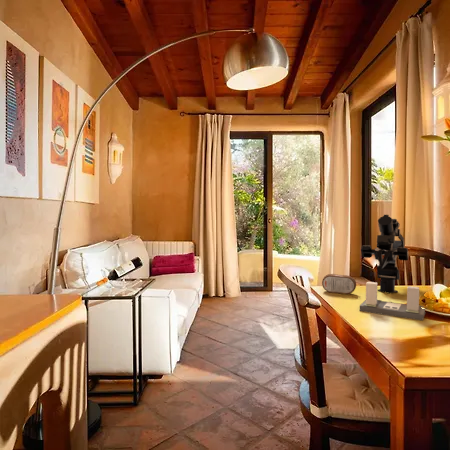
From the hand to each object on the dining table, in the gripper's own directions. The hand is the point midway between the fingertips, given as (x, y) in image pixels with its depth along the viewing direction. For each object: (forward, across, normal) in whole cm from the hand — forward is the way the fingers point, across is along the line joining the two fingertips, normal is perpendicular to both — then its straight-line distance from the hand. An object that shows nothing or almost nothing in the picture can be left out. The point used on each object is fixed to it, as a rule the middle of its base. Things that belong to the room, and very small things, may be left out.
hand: (381, 267), depth 149 cm
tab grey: (+22, +14, -6) cm, 26 cm away
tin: (+9, -18, +11) cm, 23 cm away
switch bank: (+22, +7, -2) cm, 23 cm away
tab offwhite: (+22, 0, -6) cm, 23 cm away
